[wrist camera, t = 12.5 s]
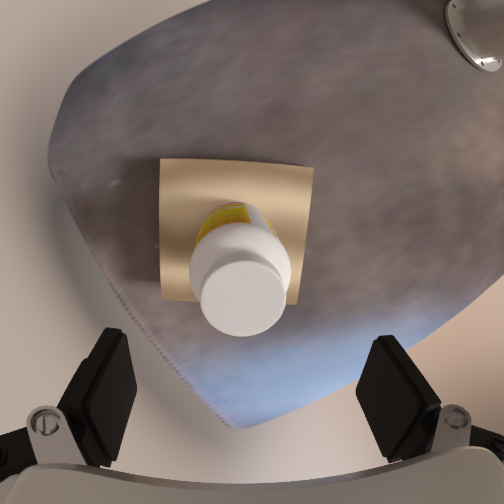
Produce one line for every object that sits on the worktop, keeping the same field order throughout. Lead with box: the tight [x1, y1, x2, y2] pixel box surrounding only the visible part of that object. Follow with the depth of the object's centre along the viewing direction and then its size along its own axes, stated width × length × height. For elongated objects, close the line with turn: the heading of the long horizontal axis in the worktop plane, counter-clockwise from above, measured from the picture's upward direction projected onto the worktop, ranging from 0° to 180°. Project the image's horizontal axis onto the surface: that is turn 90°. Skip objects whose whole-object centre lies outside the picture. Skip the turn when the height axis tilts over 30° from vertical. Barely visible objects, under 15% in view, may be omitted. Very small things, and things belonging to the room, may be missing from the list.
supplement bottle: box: [189, 201, 291, 336], centre depth 22 cm, size 7×7×13 cm
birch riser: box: [159, 158, 314, 305], centre depth 30 cm, size 14×14×4 cm
